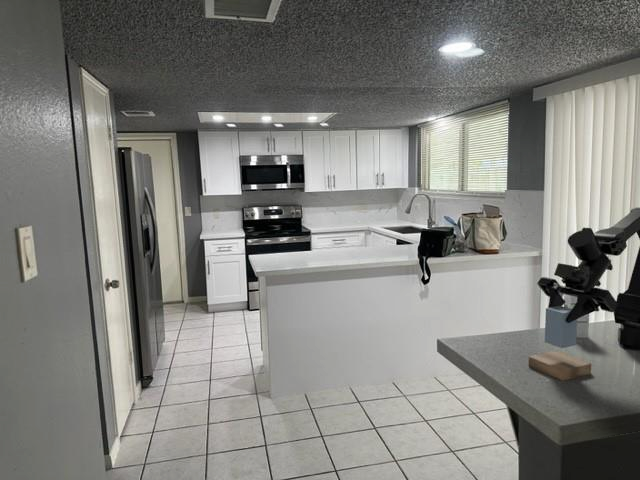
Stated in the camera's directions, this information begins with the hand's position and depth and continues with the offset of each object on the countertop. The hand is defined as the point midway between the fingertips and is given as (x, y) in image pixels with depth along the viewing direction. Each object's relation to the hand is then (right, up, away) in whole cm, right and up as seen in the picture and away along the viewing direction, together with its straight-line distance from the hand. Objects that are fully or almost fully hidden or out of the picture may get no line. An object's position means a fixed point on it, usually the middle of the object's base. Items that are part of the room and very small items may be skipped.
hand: (557, 319), depth 110 cm
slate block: (+1, -6, +1) cm, 7 cm away
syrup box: (+21, -10, +28) cm, 36 cm away
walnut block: (+2, -14, +2) cm, 14 cm away
